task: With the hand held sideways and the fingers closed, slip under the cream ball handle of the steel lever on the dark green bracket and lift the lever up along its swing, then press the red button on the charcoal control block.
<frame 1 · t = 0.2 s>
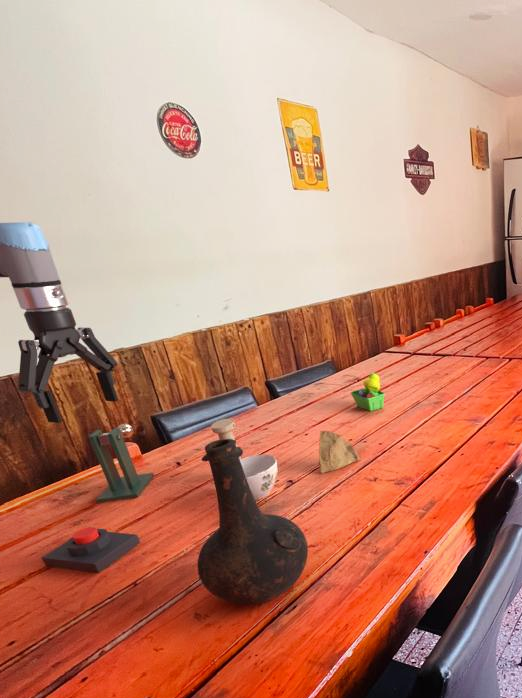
hand: (85, 410, 110), 24 cm above the table, tool pointing down, fingers open, 13 cm apart
teacup: (254, 498, 122), on the table
fruit basket: (371, 406, 177), on the table
control block: (94, 554, 103), on the table
rock: (340, 466, 136), on the table
bracket: (127, 489, 129), on the table
glass bottle: (263, 586, 92), on the table
lever: (116, 434, 128), point 13 cm above the table, hinge at -10.0°
button: (85, 536, 101), point 4 cm above the table, slide at 0.1 cm
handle: (238, 477, 132), on the table
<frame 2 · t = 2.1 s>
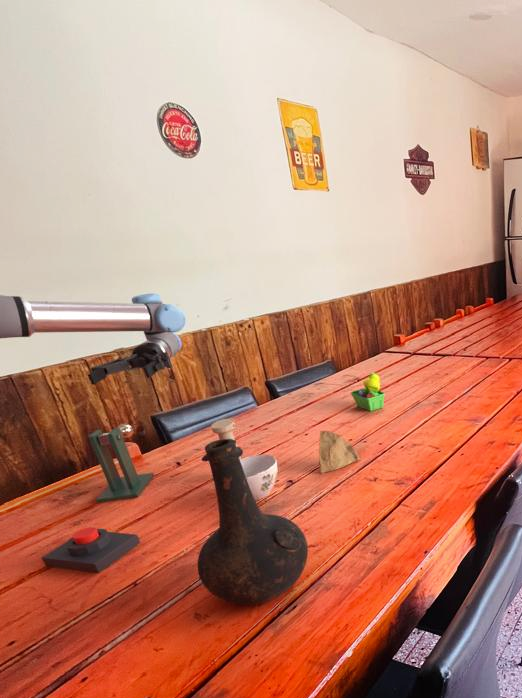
hand: (118, 376, 133), 25 cm above the table, tool horizontal, fingers open, 13 cm apart
nothing on the table moved.
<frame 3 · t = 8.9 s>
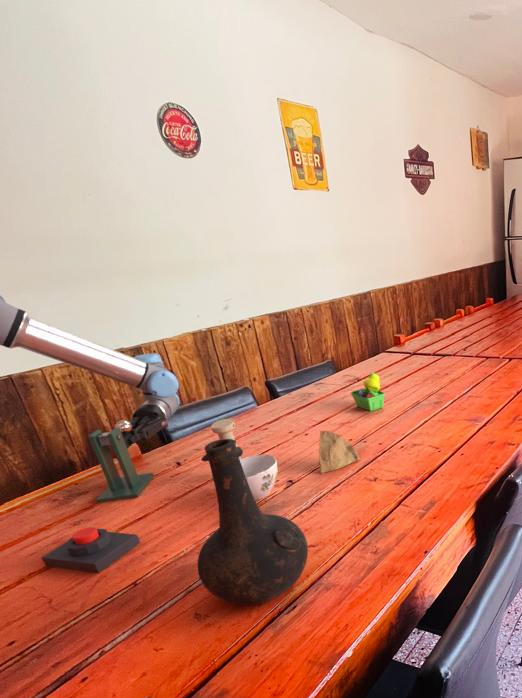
hand: (119, 447, 128), 10 cm above the table, tool horizontal, fingers closed
lever: (116, 432, 127), point 14 cm above the table, hinge at -4.2°, touching gripper
everything else where it was.
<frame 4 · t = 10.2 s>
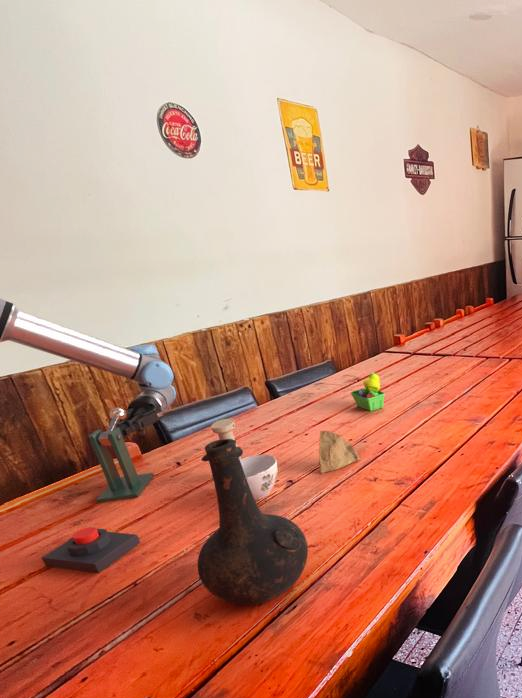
hand: (114, 438, 126), 13 cm above the table, tool horizontal, fingers closed
lever: (113, 425, 127), point 15 cm above the table, hinge at 16.1°
everything else where it was.
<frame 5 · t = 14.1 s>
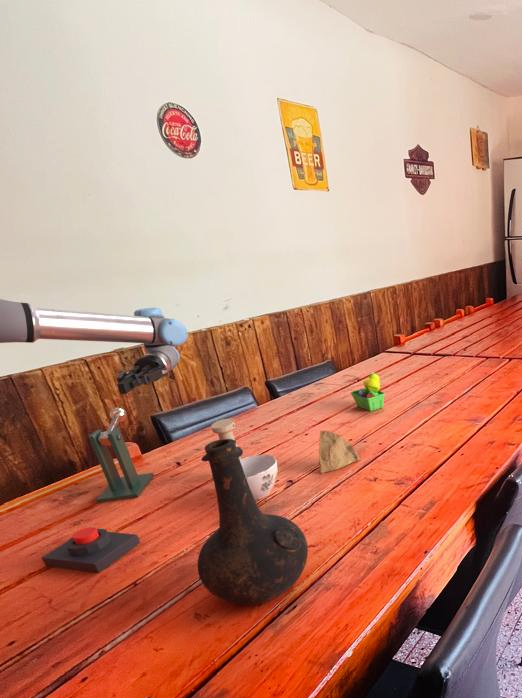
hand: (121, 389, 134), 22 cm above the table, tool horizontal, fingers closed
nothing on the table moved.
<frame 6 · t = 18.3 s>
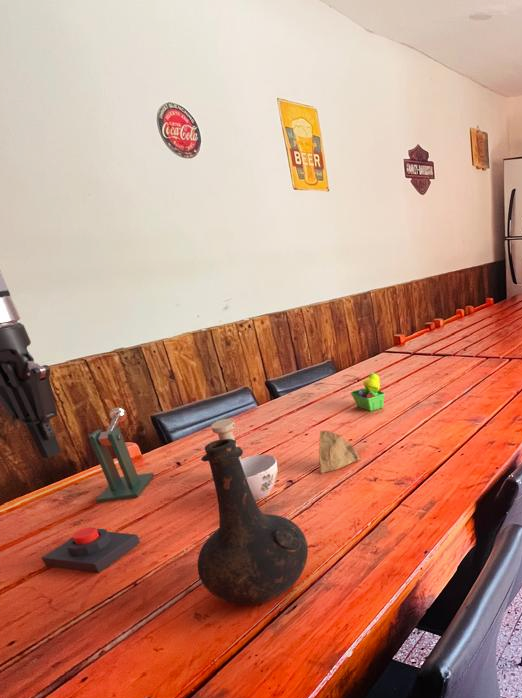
hand: (51, 454, 94), 22 cm above the table, tool pointing down, fingers closed
nothing on the table moved.
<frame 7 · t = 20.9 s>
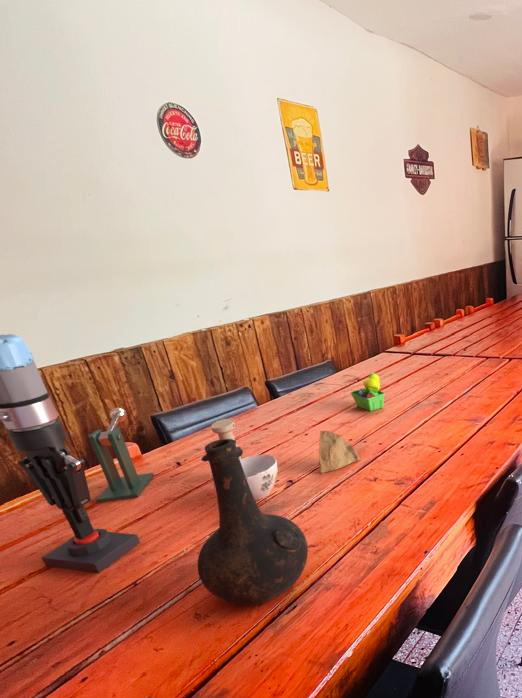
hand: (85, 534, 101), 5 cm above the table, tool pointing down, fingers closed
button: (87, 539, 102), point 4 cm above the table, slide at -0.7 cm, touching gripper
everything else where it was.
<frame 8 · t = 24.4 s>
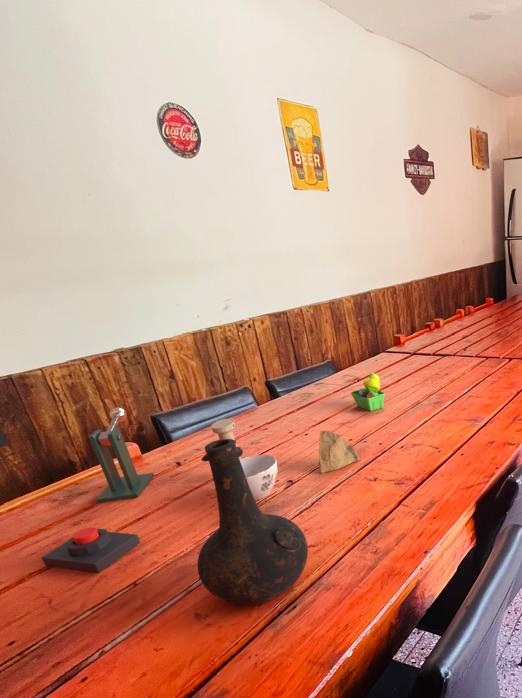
button: (85, 536, 101), point 4 cm above the table, slide at 0.1 cm
everything else where it was.
at the end: lever at +16° (first picture: -10°); button pushed in 1.0 cm at the most during the clip, back to where it started at the end; button slide at 0.1 cm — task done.
